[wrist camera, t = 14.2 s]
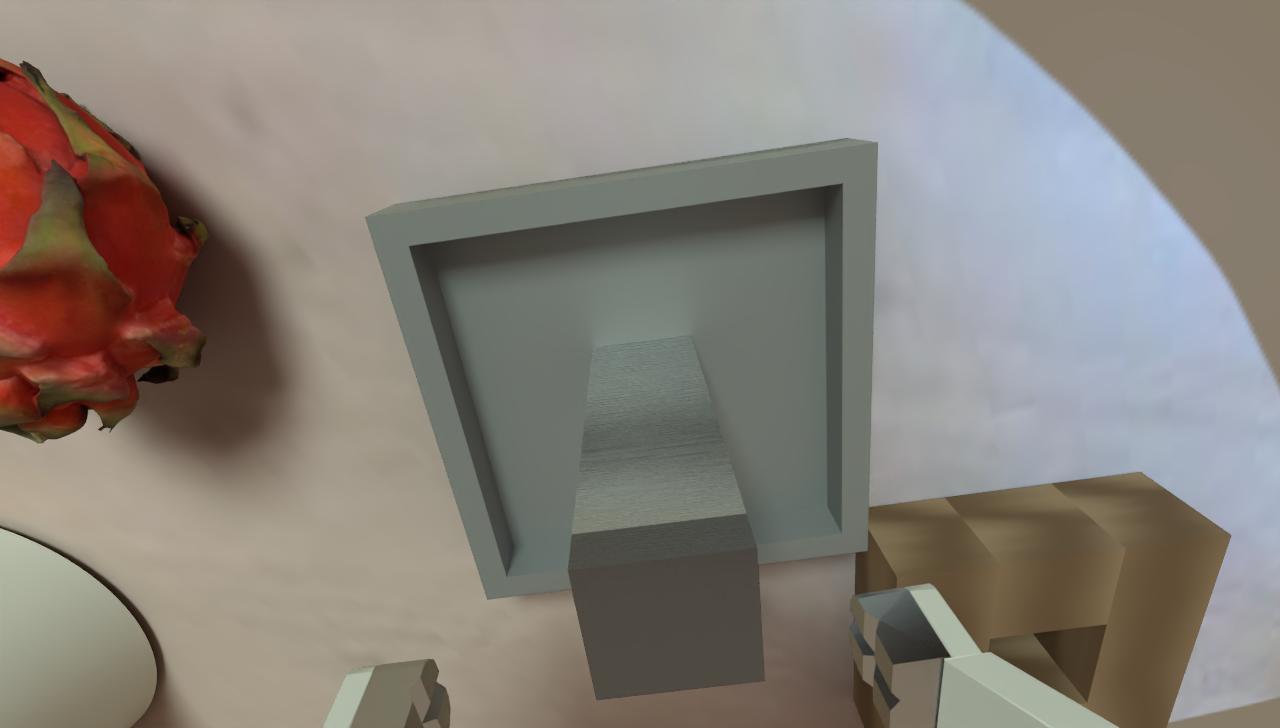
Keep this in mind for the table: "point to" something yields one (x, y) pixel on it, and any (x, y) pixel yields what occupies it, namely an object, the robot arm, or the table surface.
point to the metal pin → (661, 531)
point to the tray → (646, 337)
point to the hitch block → (1061, 584)
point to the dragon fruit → (82, 267)
